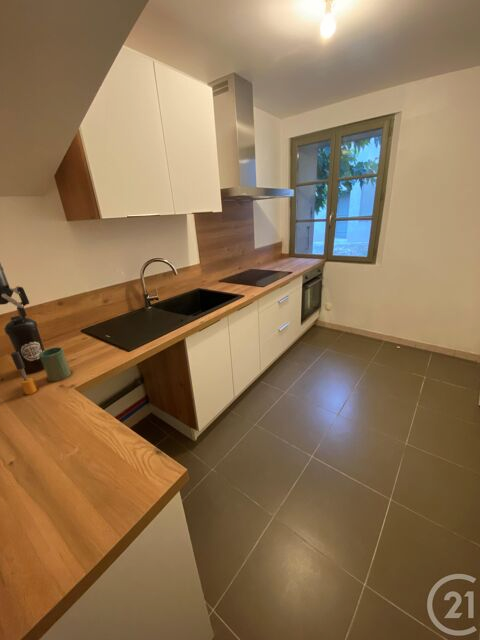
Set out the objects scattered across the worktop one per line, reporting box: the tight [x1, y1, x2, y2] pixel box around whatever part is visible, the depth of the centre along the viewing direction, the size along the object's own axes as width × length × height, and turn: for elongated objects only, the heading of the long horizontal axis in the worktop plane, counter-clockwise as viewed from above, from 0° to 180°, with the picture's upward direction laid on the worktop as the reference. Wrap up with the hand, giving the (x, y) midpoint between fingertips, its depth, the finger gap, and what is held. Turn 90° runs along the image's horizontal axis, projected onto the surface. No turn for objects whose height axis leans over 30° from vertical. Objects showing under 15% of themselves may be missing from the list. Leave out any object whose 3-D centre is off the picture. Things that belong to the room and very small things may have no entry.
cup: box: [39, 346, 72, 382], centre depth 102 cm, size 8×8×11 cm
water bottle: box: [3, 314, 45, 374], centre depth 107 cm, size 10×10×23 cm
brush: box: [10, 351, 38, 395], centre depth 92 cm, size 3×3×16 cm
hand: (7, 322), depth 84 cm, fingers open, 8 cm apart
